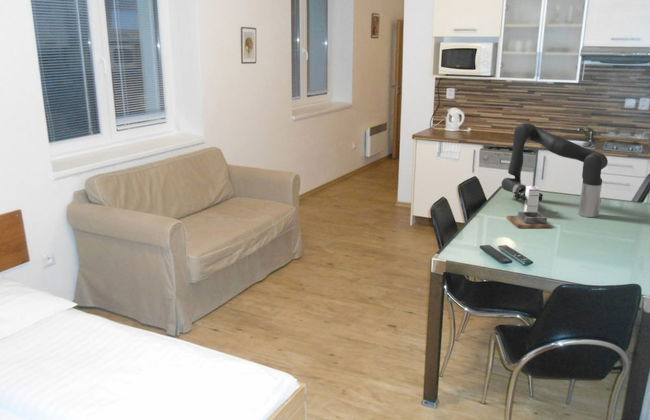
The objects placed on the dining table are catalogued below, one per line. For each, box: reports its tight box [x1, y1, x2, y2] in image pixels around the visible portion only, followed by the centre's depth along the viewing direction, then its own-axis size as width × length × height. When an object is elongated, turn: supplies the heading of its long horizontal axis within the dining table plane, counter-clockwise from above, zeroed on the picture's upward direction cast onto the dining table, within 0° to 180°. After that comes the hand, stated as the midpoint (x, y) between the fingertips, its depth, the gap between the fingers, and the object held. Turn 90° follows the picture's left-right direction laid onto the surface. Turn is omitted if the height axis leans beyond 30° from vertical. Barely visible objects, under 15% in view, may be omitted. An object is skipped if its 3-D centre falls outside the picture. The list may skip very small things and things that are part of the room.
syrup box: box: [523, 185, 541, 212], centre depth 307 cm, size 6×6×14 cm
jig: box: [506, 211, 551, 229], centre depth 291 cm, size 16×16×4 cm
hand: (533, 199), depth 304 cm, fingers open, 8 cm apart
